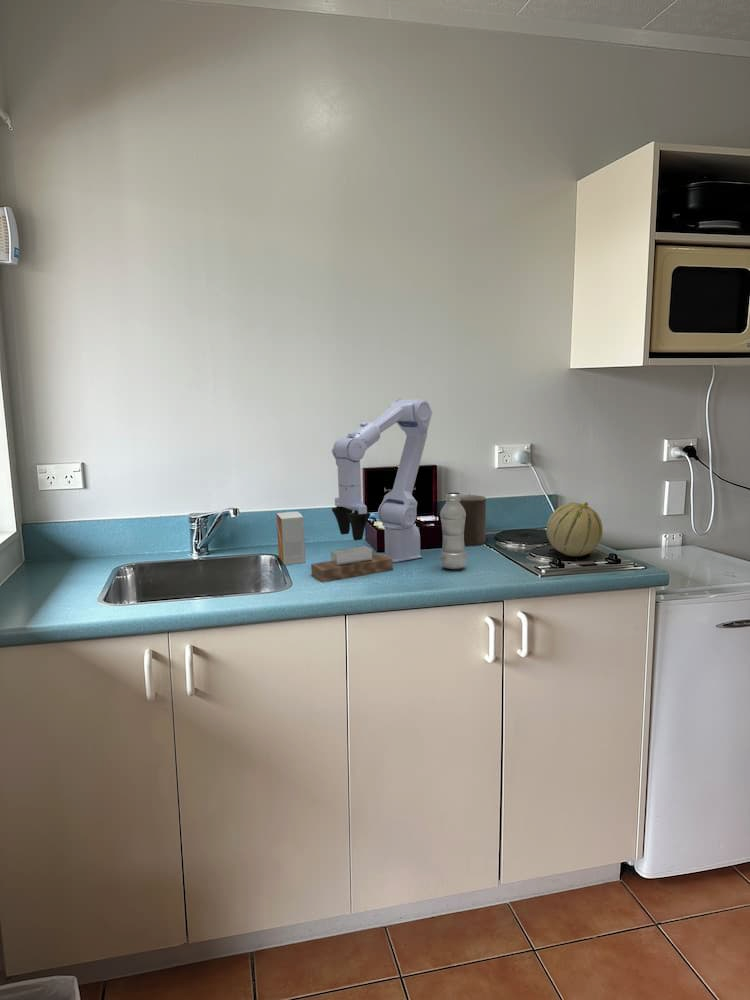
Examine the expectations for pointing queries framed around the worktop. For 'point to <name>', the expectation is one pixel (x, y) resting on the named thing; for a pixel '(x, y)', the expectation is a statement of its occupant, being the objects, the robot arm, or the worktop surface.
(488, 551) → the worktop surface
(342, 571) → the walnut rail
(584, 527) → the cantaloupe
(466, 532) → the pillar candle
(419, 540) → the robot arm
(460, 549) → the plastic bottle
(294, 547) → the small box
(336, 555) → the pale wooden bridge block
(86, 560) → the worktop surface
